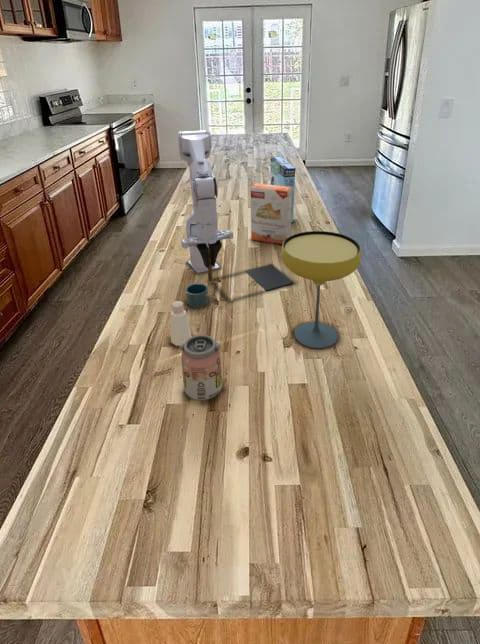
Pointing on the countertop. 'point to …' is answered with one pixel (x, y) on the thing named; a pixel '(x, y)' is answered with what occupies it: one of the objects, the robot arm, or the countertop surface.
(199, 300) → the espresso cup
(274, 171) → the blue upright flat box
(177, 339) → the pepper shaker
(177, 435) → the countertop surface
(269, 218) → the cracker box
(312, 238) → the cocktail glass
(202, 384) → the beverage can
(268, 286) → the mat
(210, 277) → the stirring stick
